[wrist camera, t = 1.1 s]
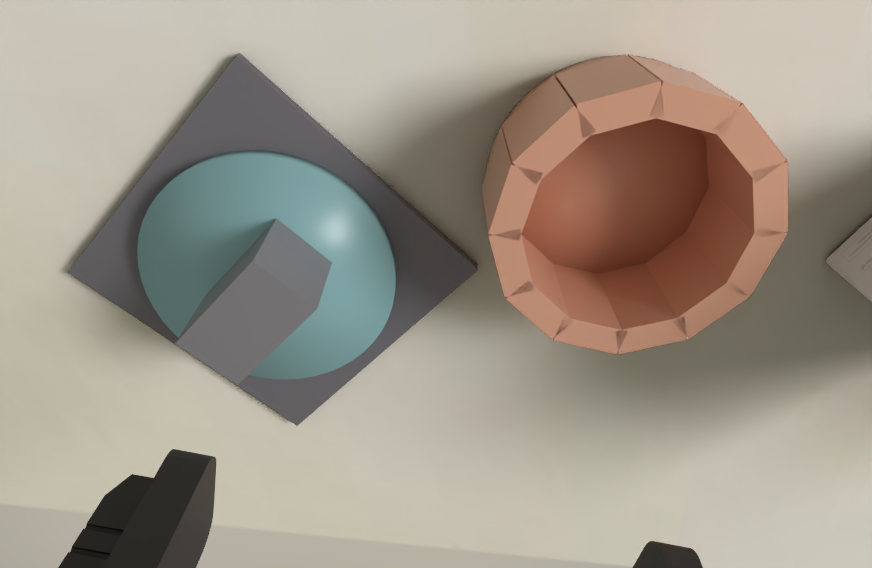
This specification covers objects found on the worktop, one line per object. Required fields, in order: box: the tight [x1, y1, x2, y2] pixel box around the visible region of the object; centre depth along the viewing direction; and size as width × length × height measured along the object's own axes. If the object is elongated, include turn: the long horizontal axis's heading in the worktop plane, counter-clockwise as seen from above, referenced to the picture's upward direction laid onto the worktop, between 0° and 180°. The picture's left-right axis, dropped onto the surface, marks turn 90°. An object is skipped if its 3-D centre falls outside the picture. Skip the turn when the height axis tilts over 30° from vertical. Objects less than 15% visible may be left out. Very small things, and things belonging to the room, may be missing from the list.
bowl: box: [482, 54, 788, 354], centre depth 26 cm, size 11×11×6 cm
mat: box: [68, 53, 478, 425], centre depth 31 cm, size 14×14×1 cm
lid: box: [137, 150, 396, 385], centre depth 28 cm, size 12×12×5 cm
